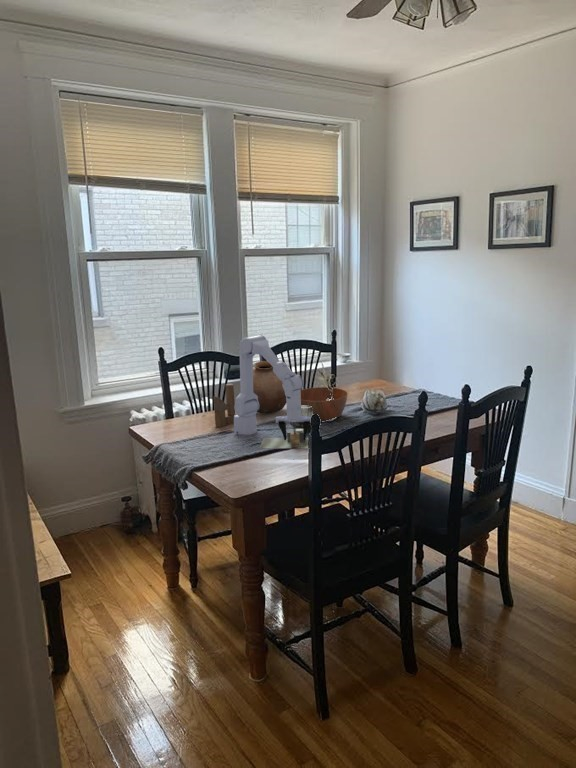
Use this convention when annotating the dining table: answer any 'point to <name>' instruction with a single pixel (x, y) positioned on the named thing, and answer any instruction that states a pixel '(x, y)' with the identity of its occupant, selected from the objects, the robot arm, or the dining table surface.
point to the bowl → (324, 401)
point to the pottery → (268, 388)
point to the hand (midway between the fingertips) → (295, 439)
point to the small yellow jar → (294, 439)
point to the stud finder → (300, 431)
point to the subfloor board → (281, 443)
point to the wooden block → (225, 408)
